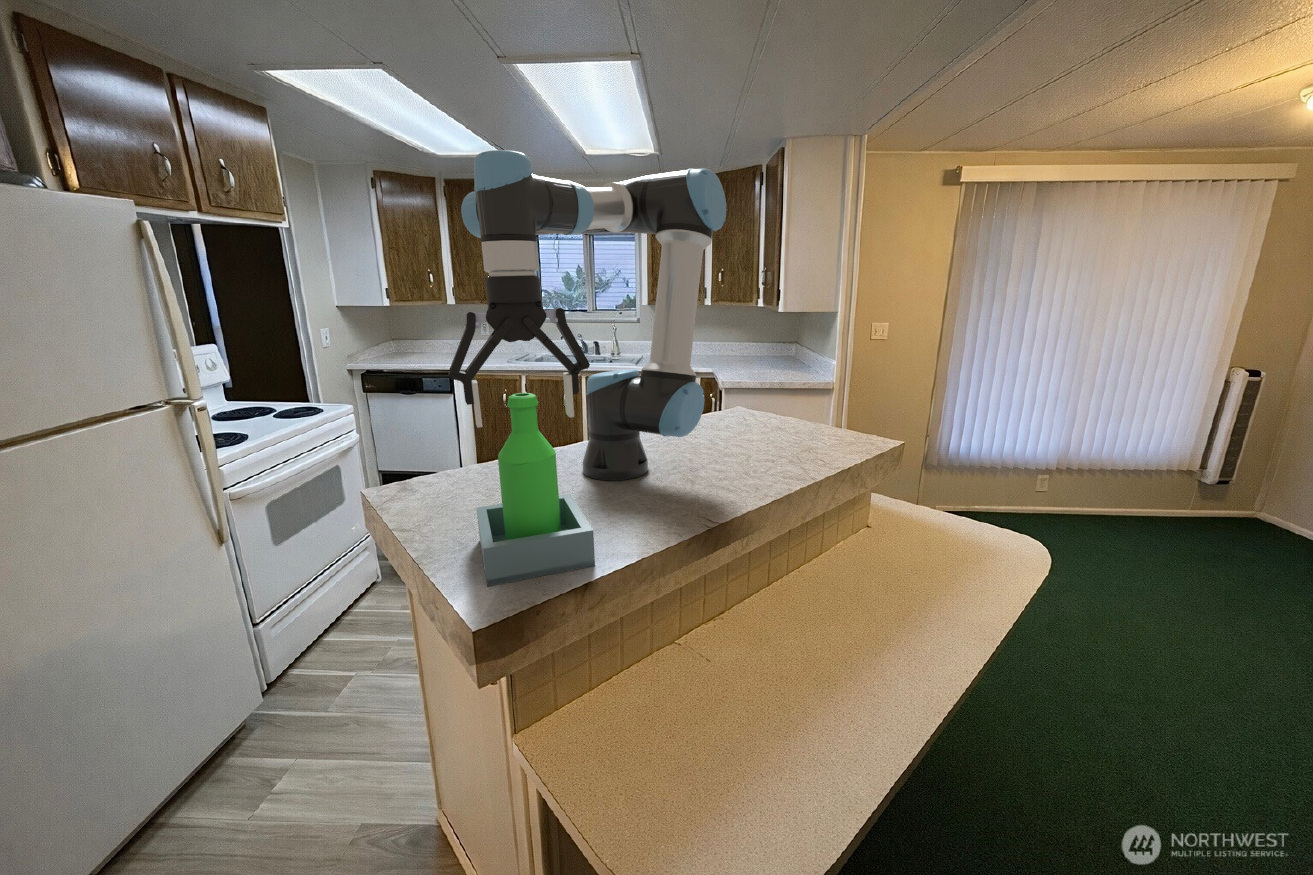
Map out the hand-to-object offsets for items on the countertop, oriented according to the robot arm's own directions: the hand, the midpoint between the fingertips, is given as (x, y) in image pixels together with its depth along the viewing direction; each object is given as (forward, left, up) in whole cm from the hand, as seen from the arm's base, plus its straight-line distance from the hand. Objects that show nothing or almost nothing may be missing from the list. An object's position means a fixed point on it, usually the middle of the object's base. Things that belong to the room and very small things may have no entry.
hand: (525, 420), depth 83 cm
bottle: (0, 0, -21) cm, 21 cm away
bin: (0, 0, -22) cm, 22 cm away
